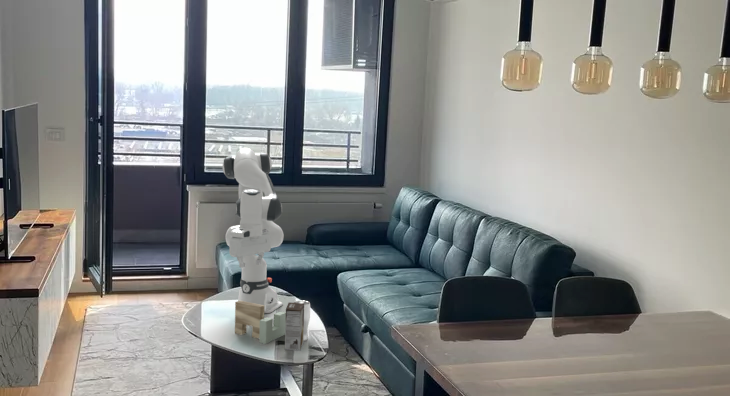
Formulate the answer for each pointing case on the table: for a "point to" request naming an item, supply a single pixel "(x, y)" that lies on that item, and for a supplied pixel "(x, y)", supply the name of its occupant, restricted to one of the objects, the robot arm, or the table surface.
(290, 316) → the coffee box
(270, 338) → the sage stand plate
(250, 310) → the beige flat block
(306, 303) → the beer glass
